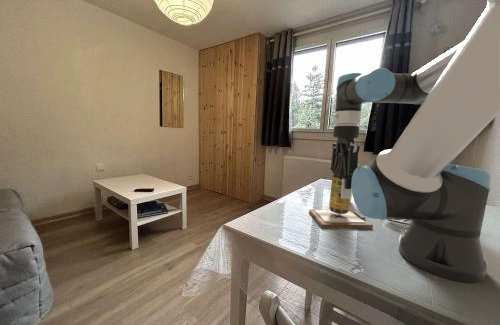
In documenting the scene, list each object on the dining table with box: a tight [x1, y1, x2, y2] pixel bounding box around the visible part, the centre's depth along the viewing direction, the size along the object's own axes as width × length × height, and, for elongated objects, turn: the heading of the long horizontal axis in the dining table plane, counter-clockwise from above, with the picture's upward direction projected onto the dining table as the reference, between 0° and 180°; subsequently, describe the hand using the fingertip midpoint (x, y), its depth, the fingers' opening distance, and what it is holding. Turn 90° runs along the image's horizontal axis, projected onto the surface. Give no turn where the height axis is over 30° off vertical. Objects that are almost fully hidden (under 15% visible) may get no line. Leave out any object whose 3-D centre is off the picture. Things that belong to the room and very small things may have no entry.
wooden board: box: [308, 208, 374, 230], centre depth 72 cm, size 13×16×2 cm
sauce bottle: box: [328, 153, 352, 214], centre depth 70 cm, size 7×6×20 cm
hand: (340, 194), depth 71 cm, fingers closed on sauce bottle, 6 cm apart
